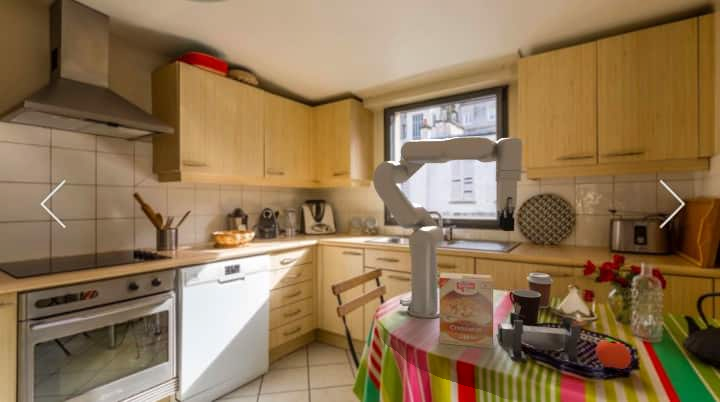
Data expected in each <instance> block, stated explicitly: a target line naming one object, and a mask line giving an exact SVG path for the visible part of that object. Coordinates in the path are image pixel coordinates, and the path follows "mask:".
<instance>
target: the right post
mask: <svg viewBox="0 0 720 402" xmlns="http://www.w3.org/2000/svg"><path fill="white" fill-rule="evenodd" d="M562 329H564V331H565V352H559V355H560V354H561V356H562V357H563V358H564V359H565V360H568V361H571V362H575V363H579V364H583V362H582V361H581V360H580V358H579V357H578V354H577V350H578V340H581V325H579V324H578V325H577V324H573V318H572V316H565V315H564V316H562ZM561 356H560V357H561ZM583 365H584V364H583Z"/></svg>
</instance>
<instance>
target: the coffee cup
mask: <svg viewBox="0 0 720 402" xmlns="http://www.w3.org/2000/svg"><path fill="white" fill-rule="evenodd" d="M526 281H527V282H528V289H529V290H530V291H534V292H537V293H540V294H541V298H540V305H539V309H548V308H549V307H550V300H551V299H550V298H551V289H552V284H554V280H553V279H552V278H551V277H550V275H549V274H546V273H543V272H531V273H529V276H527V277H526Z"/></svg>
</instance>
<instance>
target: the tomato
mask: <svg viewBox="0 0 720 402" xmlns="http://www.w3.org/2000/svg"><path fill="white" fill-rule="evenodd" d="M595 354H596V358H597V359H598V361H599V362H600V363H601V364H602V365H603V366H604V367H605V368H607V367H614V368H619V369H624V370H625V368H626V369H628V367H629V366H630V364H631V362H632V357H631V353H630V351H629V349H628V348H627V347H626V345H624V344H623V343H622V342H619V340H614V339H612V338H609V337H602V338H600V339H599V340H598V344H597V346H596V347H595Z"/></svg>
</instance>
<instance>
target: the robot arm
mask: <svg viewBox="0 0 720 402" xmlns="http://www.w3.org/2000/svg"><path fill="white" fill-rule="evenodd" d="M400 156H401V159H400V160H399V161H398V162H396V161H392V160H389V161H388V160H386V161H383V162H380V163H378V165H377V166H376V167H375V169H374V172H373V177H372V181H373V187H374V190H375V192H376V193H377V195H378V197H379V198H380V199H381V201H382V202H383V204H384V205H385V206H386V208H387V210H388V212H389V213H390V214H391V216H392V217H393V218H394V220H395V221H396V223H397V224H398V225H399V227H401V228H402V229H406V230H408V229H412V231H413V232H412V233H411V234H410V236H409V239H408V248H409V255H410V269H411V270H410V272H411V274H410V275H411V276H410V277H411V278H410V279H411V280H410V282H411V283H410V284H411V296H410V298H408V299H405V298H404V299H403V298H401V299H399V305H401V306H402V307H407V308H406V311H407V313H408V314H409V315H410V316H413V317H416V318H420V319H421V318H422V319H434V318H439V306H438V301H439V297H438V295H439V293H438V258H437V253H436V250H437V249H438V248H440V247H441V246H442V245H443V244H444V239H445V238H444V237H445V236H444V233H443V230H442V229H441V227H440V226H439V225H438V223H437V222H436V220H435V219H434V218H433V217H432V215H431V214H430V213H429V211H428V210H427V209H426V208H425V207H424V206H423V205H421V204H418V203H412V202H411V201H410V200H409V198H408V197H407V196H406V195H405V192H403V190H402V189H401V188H400V187H399V186H398V184H399V185H400V184H403V183H405V182H407V181H408V180H410V178H411V177H413V176H414V175H415V174H416V173H417V172H418V171H419V170H420V169H421V168H423V166H425V164H445V163H448V162H450V161H451V162H452V161H464V160H465V161H478V162H481V163H492V162H495V182H498V185H497V198H496V200H497V201H496V210H497V211H498V212H500V213H499V228H500V229H502V231H503V232H515V220H516V219H515V211H516V210H517V204H518V203H517V201H518V182H522V163H523V160H522V159H523V158H522V157H523V141H522V139H520V138H518V137H505V138H503V137H502V138H500V139H499V140H497V141H496V140H492V139H490V138H488V137H485V136H459V137H457V136H456V137H451V138H443V139H441V138H439V139H420V140H417V139H416V140H409V141H406V142H405V143H403V144H402V146H401V148H400Z"/></svg>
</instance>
